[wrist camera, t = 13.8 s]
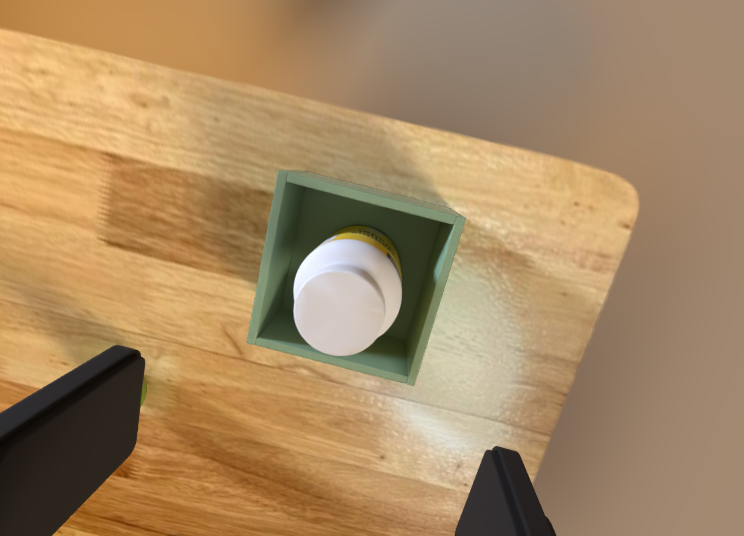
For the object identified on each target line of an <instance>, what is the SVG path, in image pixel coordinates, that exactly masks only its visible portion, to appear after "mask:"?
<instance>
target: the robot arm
mask: <svg viewBox="0 0 744 536" xmlns="http://www.w3.org/2000/svg"><path fill="white" fill-rule="evenodd" d="M144 369H145V359H144V358H143V357H141V354H140V352H139V351H138V350H135V349H131V348H128V347H124V346H120V345H115V346H112V347H111V348H109V349H107V350H106V351H104V352H102V353H101V354H99V355H97V356H96V357H94V358H92V359H91V360H89V361H87V362H85V363H84V364H82V365H80V366H79V367H77V368H75V369H74V370H72V371H70V372H69V373H67V374H65V375H64V376H62V377H60V378H59V379H57V380H55V381H53V382H52V383H50V384H48V385H47V386H45V387H43V388H42V389H40V390H38V391H37V392H35V393H33V394H32V395H30V396H28V397H27V398H25V399H23V400H21V401H20V402H18V403H16V404H15V405H13V406H11V407H10V408H8V409H6V410H5V411H3V412H1V413H0V536H52V535H53V534H54V533H55V532H56V531H57V530H58V529H59V528H60V527H61V526H62V525H63V524H64V523H65V522H66V521H67V520H68V518H69V517H70V516H71V515H72V514H73V513H74V512H75V511H76V510H77V509H78V508H79V507H80V506H81V505H82V504H83V503H84V502H85V501H86V500H87V499H88V498H89V497H90V496H91V495H92V494H93V493H94V492H95V491H96V490H97V489H98V488H99V487H100V486H101V485H102V483H103V482H104V481H105V480H106V479H107V478H108V477H109V476H110V475H111V474H112V473H113V472H114V471H115V470H116V469H117V468H118V467H119V466H120V465H121V464H122V463H123V462H124V461H125V460H126V459H127V458H128V457H129V455H130V454H131V453H132V451H133V449H134V447H135V444H136V440H137V432H138V423H139V414H140V405H141V396H142V387H143V378H144ZM455 536H556V534H555V531H554V529H553V527H552V524H551V523H550V521H549V519H548V518H547V517H546V516H545V514H544V512H543V510H542V507H541V505H540V503H539V500H538V498H537V495H536V493H535V490H534V488H533V486H532V483H531V481H530V478H529V476H528V473H527V471H526V469H525V466H524V464H523V461H522V459H521V457H520V455H519V453H518V452H517V451H513V450H509V449H506V448H502V447H498V446H495V447H494V448H493V449H492V451H491V450H486V452H485V454H484V456H483V459H482V461H481V464H480V467H479V469H478V472H477V475H476V477H475V480H474V482H473V485H472V488H471V490H470V493H469V496H468V498H467V501H466V504H465V506H464V509H463V512H462V514H461V517H460V520H459V522H458V525H457V528H456V531H455Z"/></svg>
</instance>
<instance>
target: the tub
mask: <svg viewBox="0 0 744 536" xmlns="http://www.w3.org/2000/svg"><path fill="white" fill-rule="evenodd" d="M465 220H466V218H465V217H463V216H462V215H460V214H459V213H457V212H456V211H454V210H452V209H451V208H447V207H443V206H439V205H436V204H432V203H428V202H424V201H420V200H416V199H412V198H408V197H404V196H401V195H397V194H393V193H389V192H385V191H381V190H377V189H373V188H370V187H366V186H362V185H358V184H354V183H350V182H346V181H342V180H338V179H335V178H331V177H327V176H323V175H319V174H315V173H311V172H307V171H304V170H278V174H277V180H276V185H275V190H274V196H273V201H272V207H271V212H270V218H269V223H268V228H267V234H266V239H265V245H264V250H263V256H262V261H261V267H260V272H259V277H258V283H257V288H256V294H255V299H254V305H253V310H252V315H251V321H250V326H249V332H248V337H247V343H248V344H252V345H257V346H261V347H265V348H269V349H272V350H276V351H280V352H284V353H288V354H292V355H296V356H300V357H304V358H308V359H311V360H315V361H319V362H323V363H327V364H331V365H335V366H339V367H343V368H347V369H350V370H354V371H358V372H362V373H366V374H370V375H374V376H378V377H382V378H385V379H389V380H393V381H397V382H401V383H406V384H409V385H413V386H414V385H415V382H416V378H417V375H418V372H419V369H420V365H421V362H422V359H423V356H424V353H425V349H426V346H427V343H428V340H429V336H430V333H431V330H432V327H433V323H434V320H435V317H436V314H437V311H438V307H439V304H440V301H441V298H442V294H443V291H444V288H445V285H446V281H447V278H448V275H449V272H450V269H451V265H452V262H453V259H454V256H455V252H456V249H457V246H458V243H459V239H460V236H461V233H462V230H463V226H464V223H465ZM351 225H367V226H371V227H374V228H376V229H378V230H380V231H382V232H383V233H384V234H386V235H387V236H388V237H389V238H390V239H391V240H392V242H393V243H394V244H395V246H396V248H397V250H398V253H399V256H400V261H401V277H402V299H401V306H400V309H399V312H398V315H397V317H396V319H395V320H394V322H393V323H392V325H391V326H390V327H389V329H388V330H387V331H386V332H385V333H383V334H382V335H381V336H379V337H378V338H377V339H376V340H375V341H374V342H373V343H372V344H371V345H370V346H369V347H367V348H366V349H365V350H363V351H361V352H359V353H356V354H353V355H347V356H333V355H328V354H325V353H322V352H320V351H318V350H316V349H315V348H313V347H312V346H311V345H309V344H308V343H307V342H306V341H305V340H304V338H303V337H302V336H301V334H300V333H299V331H298V329H297V327H296V324H295V320H294V302H295V301H294V293H293V291H294V281H295V277H296V274H297V272H298V269H299V267H300V266H301V264H302V263H303V261H304V260H305V259H306V257H307V256H308V255H309V254H310V253H311V252H312V251H313V250H315V249H316V248H317V247H318V246H319V245H320V244H321V243H323V242H324V241H325V240H326V239H327V238H328V237H329V236H331V235H332V234H333V233H334V232H336V231H338V230H339V229H341V228H344V227H347V226H351Z"/></svg>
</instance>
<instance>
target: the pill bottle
mask: <svg viewBox="0 0 744 536" xmlns="http://www.w3.org/2000/svg"><path fill="white" fill-rule="evenodd" d="M293 293H294V301H295V302H294V320H295V324H296V327H297V329H298V331H299V333H300V334H301V336H302V337H303V338H304V340H305V341H306V342H307V343H308V344H309V345H311V346H312V347H313V348H315V349H316V350H318V351H320V352H322V353H325V354H328V355H333V356H347V355H353V354H356V353H359V352H361V351H363V350H365V349H366V348H367V347H369V346H370V345H371V344H372V343H373V342H374V341H375V340H376V339H377V338H378V337H379V336H381V335H382V334H383V333H385V332H386V331H387V330H388V329H389V327H390V326H391V325H392V323H393V322H394V320H395V319H396V317H397V315H398V312H399V309H400V306H401V299H402V277H401V261H400V256H399V253H398V250H397V248H396V246H395V244H394V243H393V242H392V240H391V239H390V238H389V237H388V236H387V235H386V234H384V233H383V232H382V231H380V230H378V229H376V228H374V227H371V226H367V225H351V226H347V227H344V228H341V229H339V230H338V231H336V232H334V233H333V234H332V235H331V236H329V237H328V238H327V239H326V240H325V241H324V242H323V243H321V244H320V245H319V246H318V247H317V248H316V249H315V250H313V251H312V252H311V253H310V254H309V255H308V256H307V257H306V259H305V260H304V261H303V263H302V264H301V266H300V267H299V269H298V272H297V274H296V277H295V281H294V291H293Z"/></svg>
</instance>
